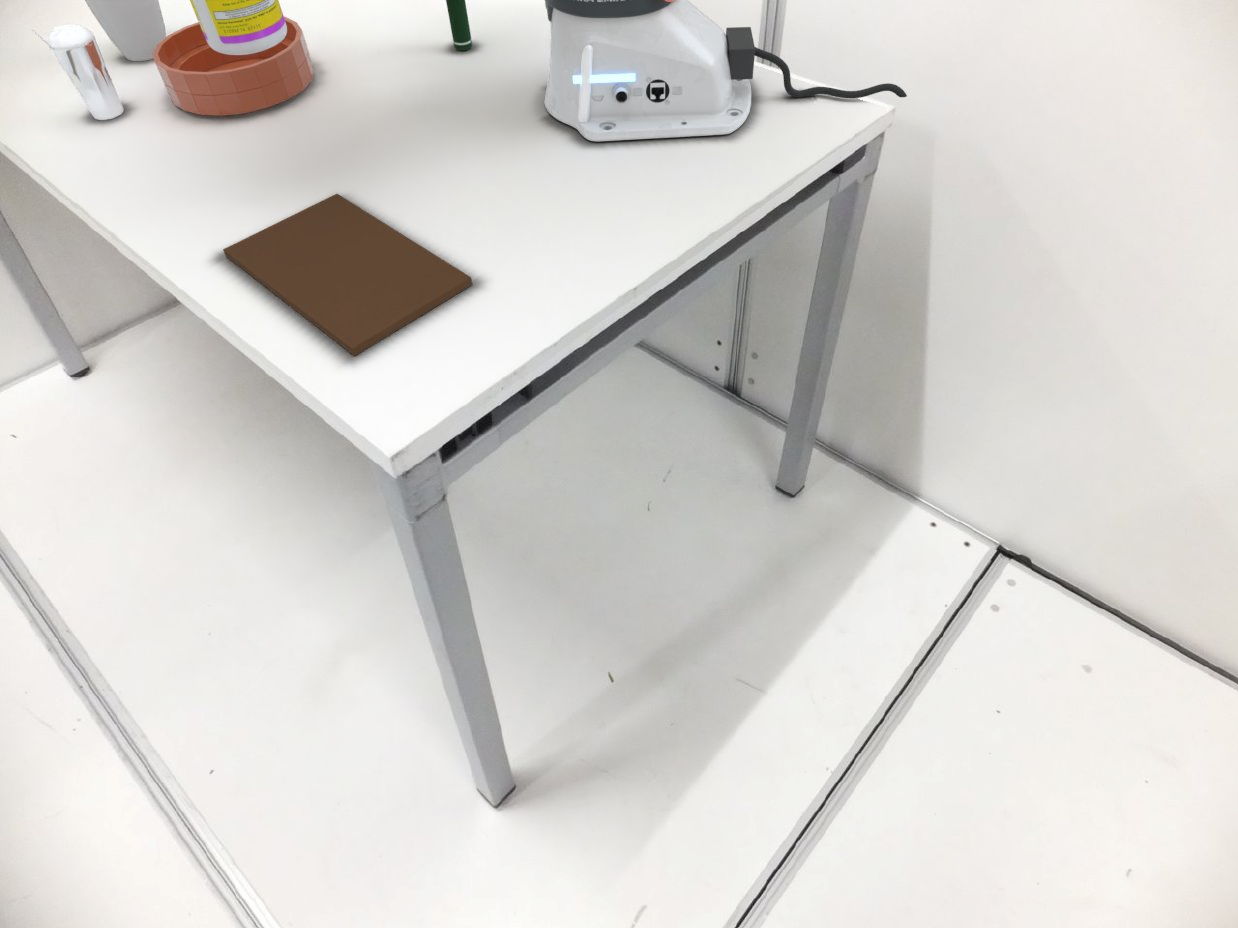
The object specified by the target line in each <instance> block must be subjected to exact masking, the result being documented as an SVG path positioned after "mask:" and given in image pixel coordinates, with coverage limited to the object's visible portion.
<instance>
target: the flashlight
mask: <svg viewBox="0 0 1238 928" xmlns="http://www.w3.org/2000/svg"><path fill="white" fill-rule="evenodd" d="M445 3H446V9H447V15H448V18H449V25H450V31H451V37H452V41H453V46H454V49H456V50H457V51H458V52H459V51H460V52H466V51H468V50H471V49H472V46H473V40H472V35H471V34H472V33H471V29H470V23H469V16H468V10H467V4H466V0H445Z"/></svg>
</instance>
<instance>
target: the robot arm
mask: <svg viewBox="0 0 1238 928" xmlns="http://www.w3.org/2000/svg"><path fill="white" fill-rule="evenodd" d="M544 6H545V9H546V13H547V14H546V15H547V20H548V21H549V24H550V43H549V44H550V45H549V50H550V51H549V68H548V75H547V76H548V78H547V85H546V89H545V95H544V99H543V100H544V102H543V103H544V107H545V109H546V111H547V112H548V114H550V115H551V116H552V117H553V118H554V119H556V120H557V121H559V122H561V123H563V124H566V125H568V126H569V127H570V126H571V127H572V128H574V129H576V130H577V131H578V132H579V134H580V135H581V136H582V137H583V138H585V140H588V141H591V142H611V141H612V142H615V141H631V140H649V139H669V138H670V139H671V138H684V137H685V138H687V137H702V136H703V137H704V136H721V135H723V136H724V135H729V134H732V133H733V132H735V131H736V130H738V129H739V128H741V126H742V125H743V124H744V123H745V122H746V120H747V119H748V117H749V114H750V111H751V107H752V86H751V82H750V80H753V78H754V67H755V57H757V58H759V59H763V60H765V61H768V62H770V63H772V64H774V65H775V66H776V67H778V69H780V71H781V73H782V78H783V87H784V90H785V92H786V94H788V95H789V96H791V97H793V98H798V99H799V98H801V99H802V98H806V97H810V96H815V95H824V96H825V95H827V96H832V97H836V98H841V99H861V98H865V97H868V96H871V95H872V96H873V95H875V94H878V93H882V92H891V93H893V94H895V95H896V96H897V97H899V98H906V97H908V94H907V93H906V92H905V91H904V89H903V88H902V87H900V86H899V85H898V84H894V83H880V84H877V85H873V86H870V87H867V88H864V89H860V90H844V89H839V88H833V87H828V86H812V87H809V88H804V89H796V88H794V87H793V85H792V81H791V80H792V79H791V71H790V68H789V66H788V64H787V63H786V62H785V60H783V58H780V57H779V56H778V55H776V54H774V53H771V52H769V51H767V50H764V49H761V48H758V47H756V46H755V41H754V37H753V31H752V27H751V26H740V27H739V26H737V27H735V26H733V27H732V26H731V27H726V29H725V31H724V29H723V28H722V27H721V25H719V23H717V22H716V21H714V20H713V19H712V18H710V17H709V16H708V15H707V14H705V13H704V12H703V11H702V10H700V9H699V8H698V7H697V6H696V5H694V4H693V3H692V2H691V1H690V0H544Z"/></svg>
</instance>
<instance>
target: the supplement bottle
mask: <svg viewBox="0 0 1238 928" xmlns="http://www.w3.org/2000/svg"><path fill="white" fill-rule="evenodd" d="M189 2H190V4H191V6H192V9H193V12H194V14H195V16H196V19H197V21H198V22H199V24H200V27H201V29H202V31H203V34H204V36H205V38H206V41H207V43H208V44H209V46H210V47H211V48H212V49H213V50H215V51H217V52H220V53H223V54H228V55H247V54H253V53H257V52H261V51H264V50H266V49H269V48H271V47H273V46H275V45H277V44H278V43H280V42H281V41H282V40H283V39H284V38H285V36H286V34H287V25H286V22H285V19H284V17H285V15H284V12H283V10H282V7H281V4H280V1H279V0H189Z"/></svg>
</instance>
